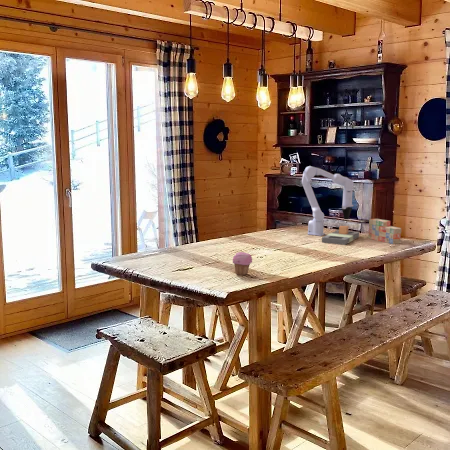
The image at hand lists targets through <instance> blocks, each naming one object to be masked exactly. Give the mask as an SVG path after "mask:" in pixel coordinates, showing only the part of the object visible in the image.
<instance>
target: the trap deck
mask: <svg viewBox="0 0 450 450" xmlns="http://www.w3.org/2000/svg"><path fill="white" fill-rule="evenodd" d="M358 238H360V231H353V230H352V231H351V230H348V234H339V229H337V230H335V231H333V232H329V234H325V236H324V235H323V236H322V237H321V243H324V244H332V245H333V244H335V245H343V246H346V245H348V244H349V243H351V242H353V241H354V240H356V239H358Z"/></svg>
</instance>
